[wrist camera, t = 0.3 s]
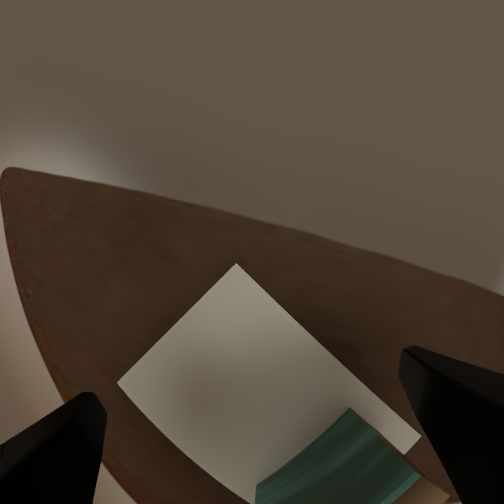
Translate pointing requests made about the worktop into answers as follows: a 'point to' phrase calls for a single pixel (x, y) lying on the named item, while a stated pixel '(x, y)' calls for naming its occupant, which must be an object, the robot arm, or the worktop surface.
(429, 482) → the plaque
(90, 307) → the worktop surface
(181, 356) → the board
